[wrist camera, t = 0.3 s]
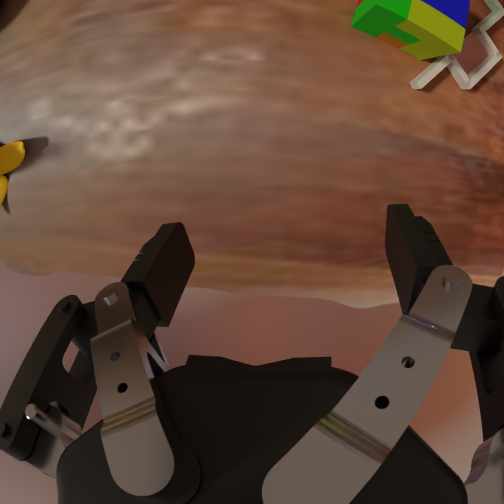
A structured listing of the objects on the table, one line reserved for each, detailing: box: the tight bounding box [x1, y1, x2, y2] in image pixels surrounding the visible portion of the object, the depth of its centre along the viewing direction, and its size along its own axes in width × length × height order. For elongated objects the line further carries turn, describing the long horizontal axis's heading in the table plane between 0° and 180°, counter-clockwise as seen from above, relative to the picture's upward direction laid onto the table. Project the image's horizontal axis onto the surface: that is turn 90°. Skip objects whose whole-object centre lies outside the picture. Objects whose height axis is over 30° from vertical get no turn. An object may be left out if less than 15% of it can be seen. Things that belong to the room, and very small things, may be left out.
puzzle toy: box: [351, 0, 470, 60], centre depth 21 cm, size 10×10×10 cm
